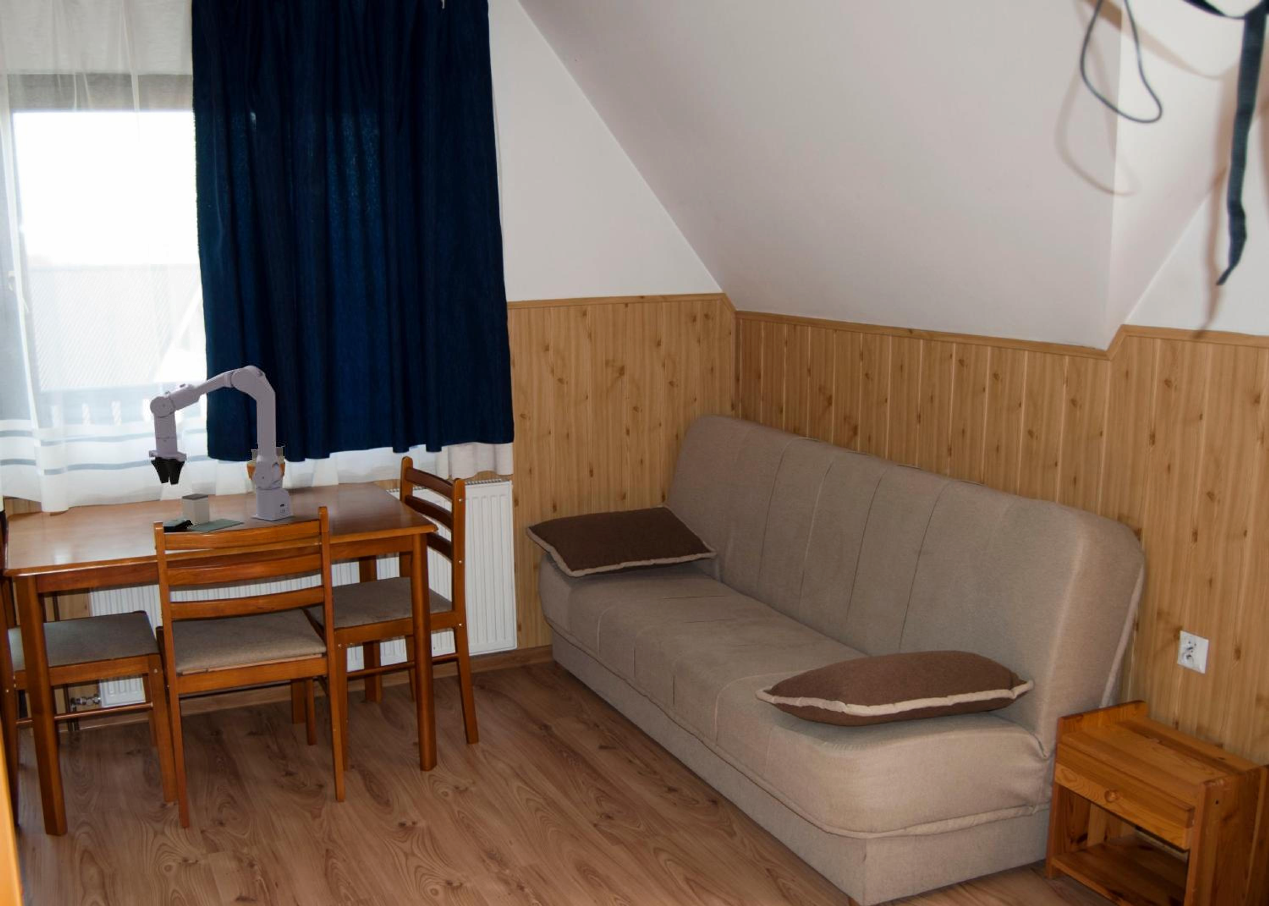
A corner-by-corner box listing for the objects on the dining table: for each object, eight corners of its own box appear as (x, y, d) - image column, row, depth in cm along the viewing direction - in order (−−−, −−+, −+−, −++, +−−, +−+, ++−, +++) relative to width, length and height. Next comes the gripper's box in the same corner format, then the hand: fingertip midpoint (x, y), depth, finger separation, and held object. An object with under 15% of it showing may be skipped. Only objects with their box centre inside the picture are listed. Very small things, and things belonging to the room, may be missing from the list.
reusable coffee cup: (296, 490, 377) (293, 444, 375) (266, 497, 366) (263, 450, 364) (269, 486, 383) (266, 441, 381) (238, 493, 373) (235, 447, 370)
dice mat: (243, 523, 330) (243, 522, 330) (205, 532, 320) (205, 531, 319) (222, 519, 335) (222, 518, 335) (184, 528, 324) (184, 527, 324)
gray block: (210, 522, 332) (208, 495, 331) (195, 525, 328) (193, 498, 327) (198, 520, 335) (196, 493, 333) (184, 523, 330) (181, 496, 329)
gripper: (137, 437, 333) (141, 483, 336) (170, 441, 326) (173, 488, 328) (159, 434, 339) (162, 479, 342) (191, 437, 332) (194, 484, 334)
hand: (169, 483), depth 335 cm, fingers open, 4 cm apart
